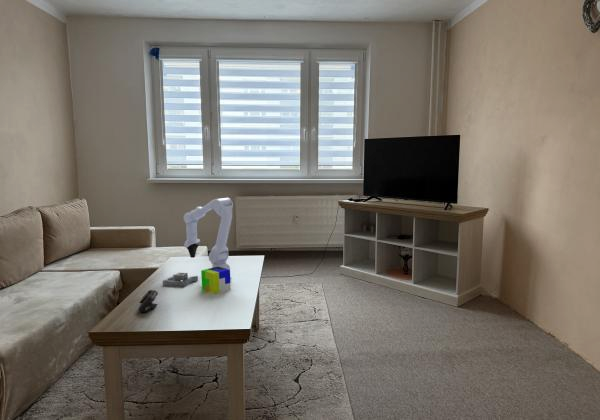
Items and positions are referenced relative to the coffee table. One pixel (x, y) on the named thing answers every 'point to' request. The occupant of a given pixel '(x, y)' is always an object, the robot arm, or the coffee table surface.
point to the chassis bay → (181, 283)
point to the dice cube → (180, 276)
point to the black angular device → (148, 301)
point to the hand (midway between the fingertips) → (192, 257)
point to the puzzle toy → (215, 280)
